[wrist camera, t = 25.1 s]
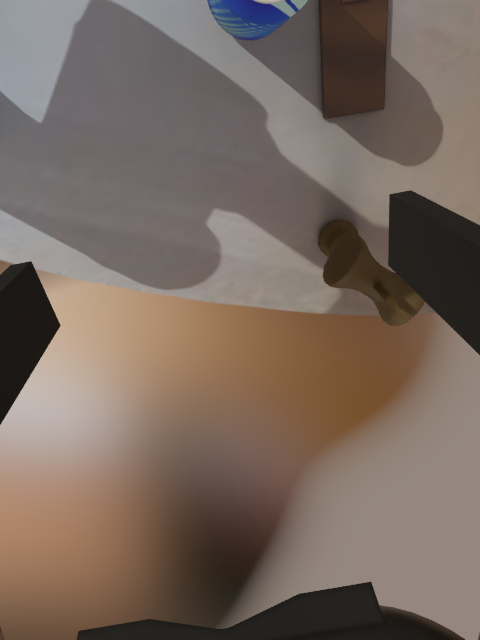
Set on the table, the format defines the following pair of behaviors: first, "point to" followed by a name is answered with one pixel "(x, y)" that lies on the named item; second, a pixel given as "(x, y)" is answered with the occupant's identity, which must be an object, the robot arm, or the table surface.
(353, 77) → the spatula
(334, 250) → the kendama
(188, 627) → the robot arm
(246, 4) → the beer can
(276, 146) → the table surface
